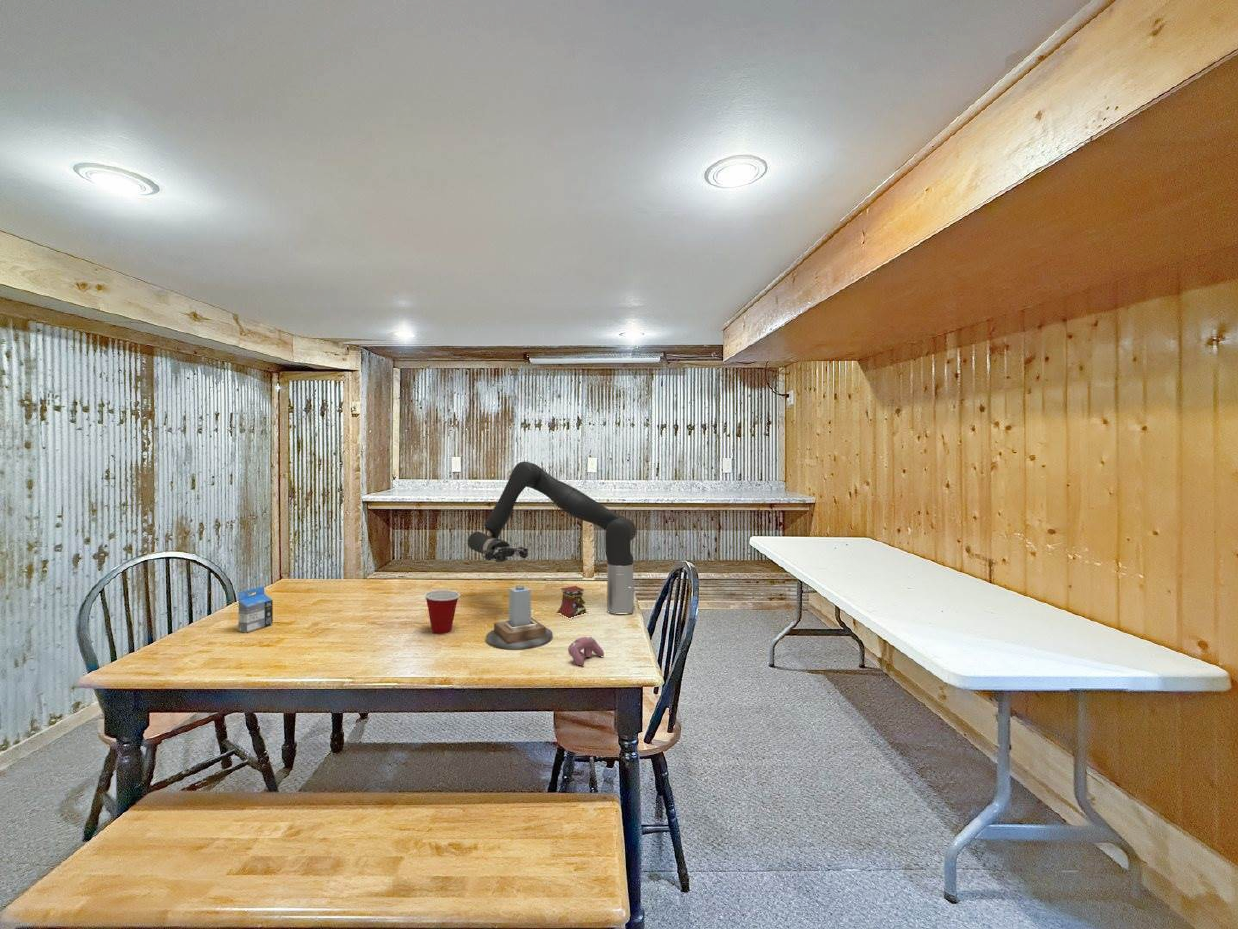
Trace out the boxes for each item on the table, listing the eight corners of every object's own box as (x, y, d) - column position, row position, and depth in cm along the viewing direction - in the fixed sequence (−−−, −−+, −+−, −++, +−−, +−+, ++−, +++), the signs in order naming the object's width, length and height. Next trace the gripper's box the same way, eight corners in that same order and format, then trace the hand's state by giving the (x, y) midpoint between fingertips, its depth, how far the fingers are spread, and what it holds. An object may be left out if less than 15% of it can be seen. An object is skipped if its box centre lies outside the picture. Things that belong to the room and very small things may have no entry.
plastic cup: (449, 638, 169) (449, 598, 168) (417, 635, 171) (417, 596, 170) (466, 627, 179) (466, 590, 179) (435, 624, 181) (435, 588, 181)
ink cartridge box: (247, 633, 171) (246, 593, 171) (237, 632, 172) (237, 592, 172) (273, 625, 179) (273, 587, 179) (264, 623, 181) (264, 586, 180)
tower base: (537, 624, 183) (537, 609, 183) (563, 642, 166) (563, 626, 166) (477, 634, 172) (477, 618, 172) (498, 654, 155) (498, 637, 155)
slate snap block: (524, 621, 172) (524, 583, 172) (530, 626, 168) (530, 587, 168) (509, 624, 170) (509, 585, 170) (514, 628, 166) (514, 589, 165)
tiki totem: (568, 619, 188) (568, 593, 188) (556, 613, 195) (556, 587, 195) (589, 615, 193) (590, 589, 193) (576, 609, 200) (576, 584, 200)
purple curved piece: (595, 659, 156) (586, 635, 158) (606, 655, 154) (597, 631, 156) (571, 670, 149) (563, 644, 150) (583, 666, 146) (574, 640, 148)
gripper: (476, 540, 192) (492, 547, 178) (515, 537, 200) (533, 543, 186) (476, 562, 192) (492, 570, 179) (515, 558, 200) (533, 565, 186)
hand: (513, 556), depth 182 cm, fingers open, 8 cm apart
